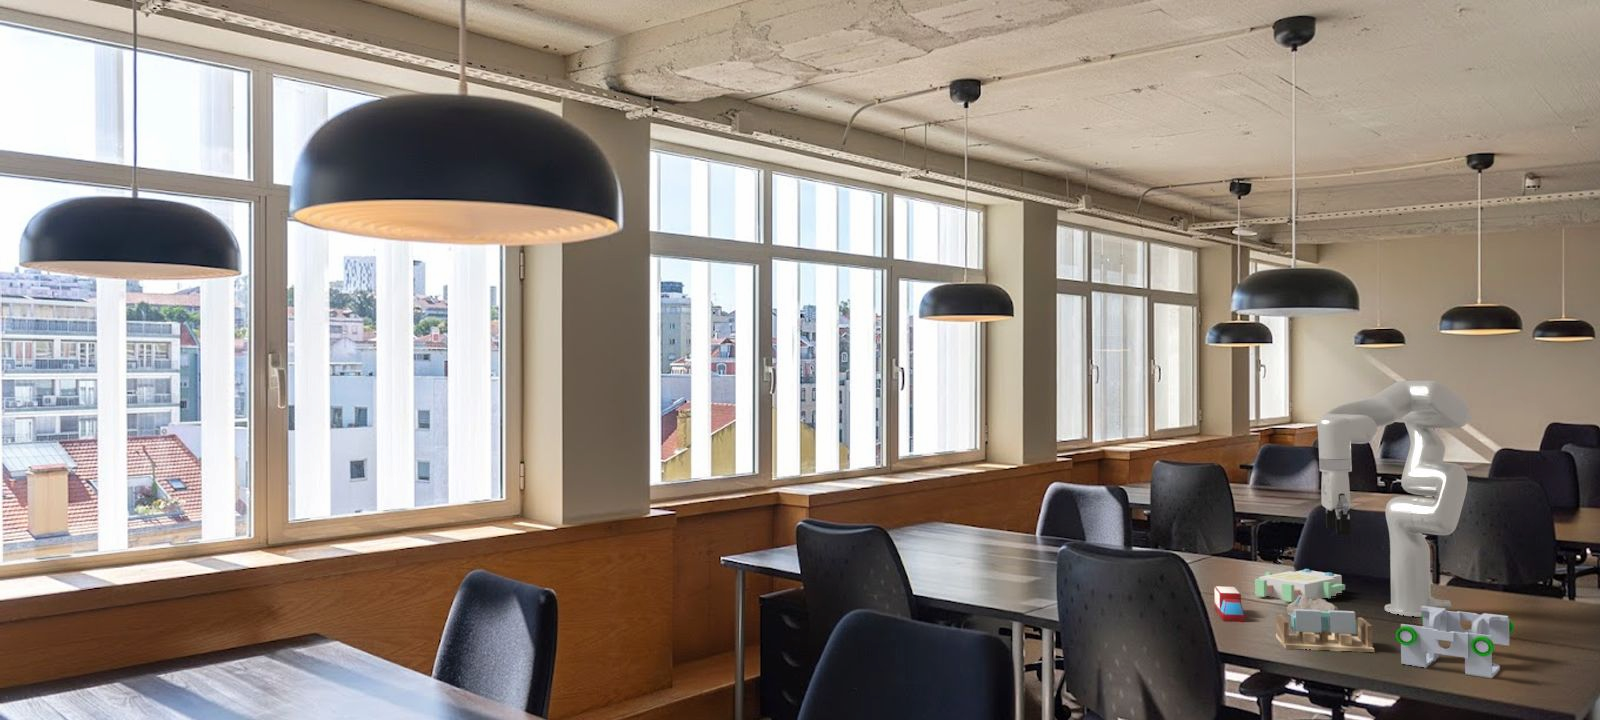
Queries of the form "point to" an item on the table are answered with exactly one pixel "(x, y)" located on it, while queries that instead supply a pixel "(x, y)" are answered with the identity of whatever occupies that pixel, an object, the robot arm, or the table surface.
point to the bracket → (1455, 639)
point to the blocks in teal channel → (1324, 621)
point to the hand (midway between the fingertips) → (1338, 531)
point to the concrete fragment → (1310, 604)
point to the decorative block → (1299, 585)
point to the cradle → (1325, 638)
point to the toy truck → (1229, 604)
